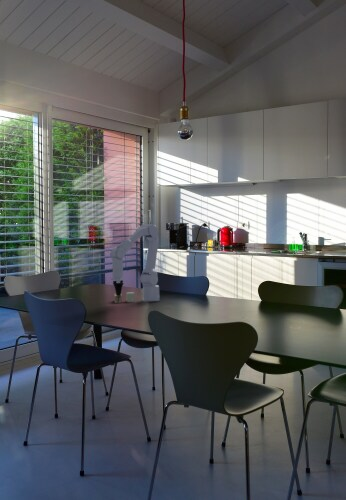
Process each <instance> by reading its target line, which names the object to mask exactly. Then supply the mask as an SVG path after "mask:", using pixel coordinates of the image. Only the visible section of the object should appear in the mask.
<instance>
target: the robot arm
mask: <svg viewBox="0 0 346 500" xmlns="http://www.w3.org/2000/svg"><path fill="white" fill-rule="evenodd" d="M142 237H144V238H146V239H147V240H148V246H147V254H146V261H145V267H144V269H143V270H142V273H141V275H140V277H139V281H140V283H141V284H142V299H141V301H142V302H159V301H161V300H160V286H159V285H158V282H159V277H158V275H159V274H158V271H157V270H156V263H157V257H158V256H157V255H158V249H159V241H160V240H159V239H160V238H159V228H158V227H157V225H156V224H153V223H150V224H145V223H143V224H141V225H140V226H138V227H137V230H136V231H135V232H134V233H133V234H132V235H131V236H130V237H129V238H128V239H127V238H126V239H122V240H121V243H119V244H117V246H116V247H113V248H112V249H111V250H110V253H109V256H110V258H111V261H112V262H111V263H112V277H110V280H113V281H112V285H113V287H114V290H115V294H116V295H117V296H120V295H121V294H122V289H123V285H124V283H125V282H124V279H125V278H124V258H125V256H126V253H127V252H128V251H129V250H130V249H131V248H133V244H134V243H135V242H137V241H138V240H139V239H140V238H142Z"/></svg>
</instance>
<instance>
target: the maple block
mask: <svg viewBox="0 0 346 500" xmlns="http://www.w3.org/2000/svg"><path fill="white" fill-rule="evenodd" d="M113 295H114V303H115V304H117V303H123V294H122V293H121V295H120V296H117V295H116V293H114V294H113Z"/></svg>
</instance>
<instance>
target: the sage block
mask: <svg viewBox="0 0 346 500" xmlns="http://www.w3.org/2000/svg"><path fill="white" fill-rule="evenodd" d="M135 296H136V292H133V291H130V292H126V293H125V301H126V302H127V303H133V302H134V303H135V302H136V297H135Z"/></svg>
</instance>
